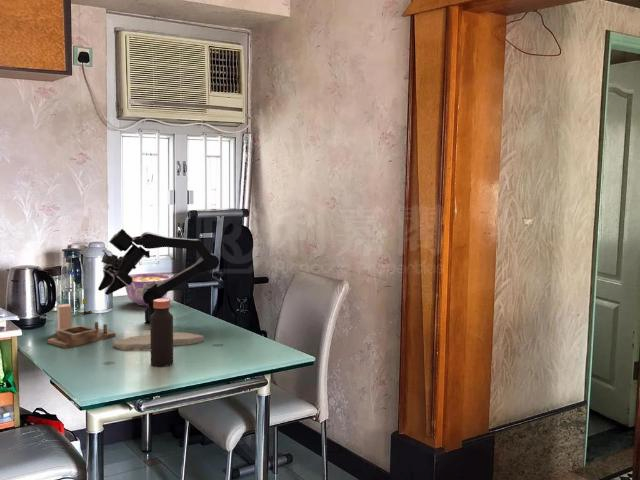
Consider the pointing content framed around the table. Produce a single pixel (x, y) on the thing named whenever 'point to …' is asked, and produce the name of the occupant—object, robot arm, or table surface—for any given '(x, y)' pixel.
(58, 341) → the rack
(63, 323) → the clay bar
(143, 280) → the bowl of food
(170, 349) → the bottle
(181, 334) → the stone tablet
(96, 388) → the table surface
